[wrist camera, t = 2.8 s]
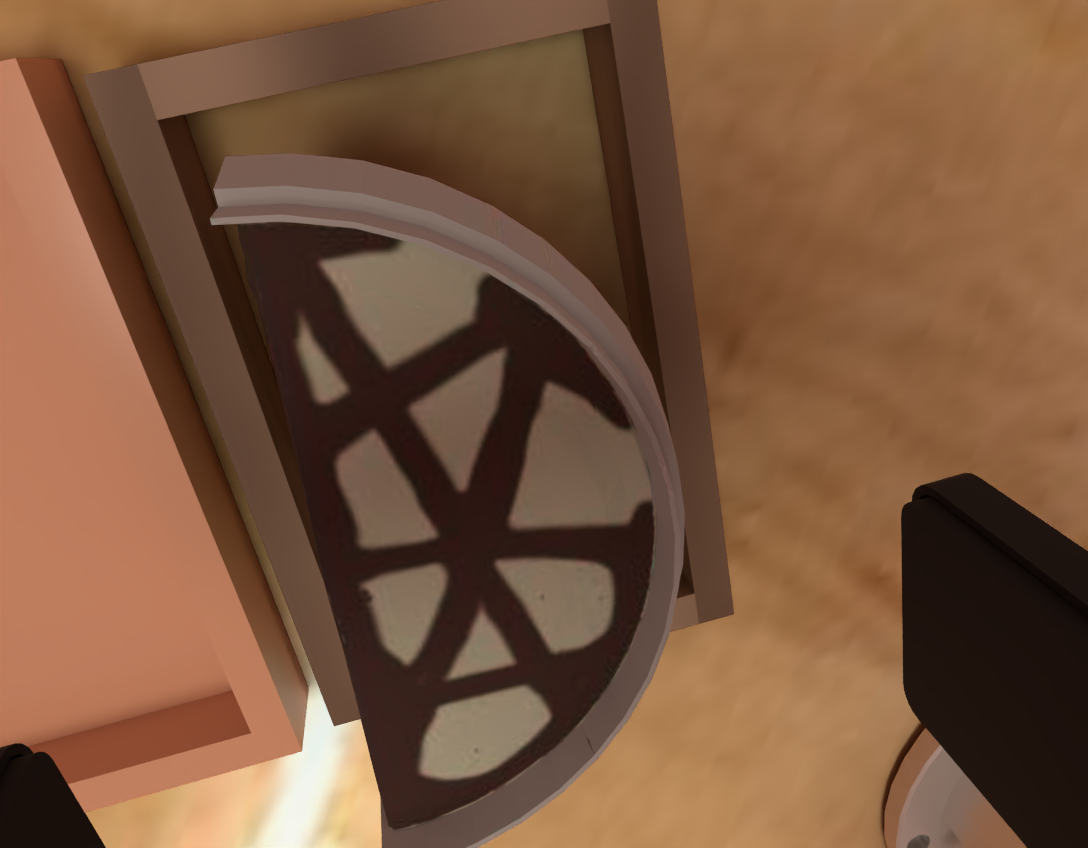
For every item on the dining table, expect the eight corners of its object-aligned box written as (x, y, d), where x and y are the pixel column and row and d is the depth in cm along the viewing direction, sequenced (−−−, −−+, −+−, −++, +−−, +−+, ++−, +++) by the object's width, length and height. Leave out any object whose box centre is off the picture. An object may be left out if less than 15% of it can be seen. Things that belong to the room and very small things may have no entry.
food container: (598, 545, 25) (727, 823, 16) (383, 587, 24) (388, 903, 15) (553, 88, 20) (703, 106, 11) (281, 122, 19) (196, 172, 10)
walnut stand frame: (618, -30, 19) (650, -43, 17) (702, 565, 26) (734, 614, 23) (119, 74, 18) (82, 75, 16) (338, 665, 25) (334, 726, 22)
